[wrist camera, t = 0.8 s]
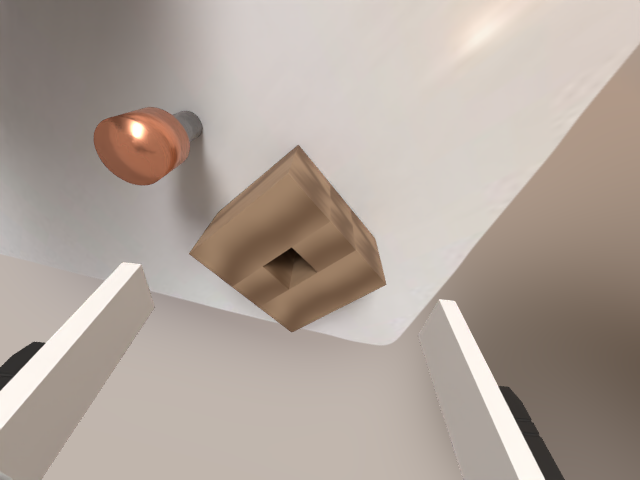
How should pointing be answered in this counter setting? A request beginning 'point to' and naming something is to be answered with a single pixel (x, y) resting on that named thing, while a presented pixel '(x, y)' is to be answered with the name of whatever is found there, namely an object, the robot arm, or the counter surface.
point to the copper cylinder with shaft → (145, 143)
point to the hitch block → (292, 245)
